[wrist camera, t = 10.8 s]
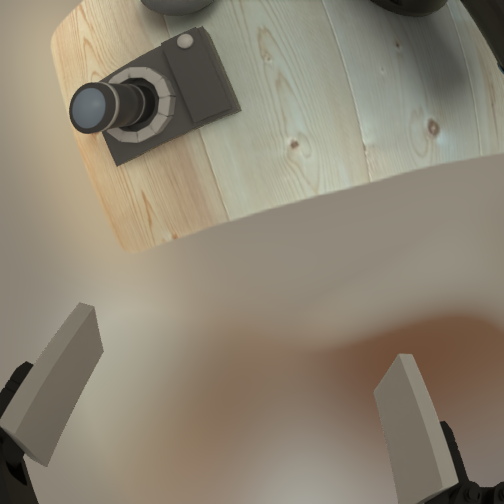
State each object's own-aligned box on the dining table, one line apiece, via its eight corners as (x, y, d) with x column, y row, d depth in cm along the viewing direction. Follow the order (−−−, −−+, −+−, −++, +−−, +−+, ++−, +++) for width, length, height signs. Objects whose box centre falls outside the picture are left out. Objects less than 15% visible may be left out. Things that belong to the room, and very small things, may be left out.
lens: (121, 85, 28) (69, 84, 19) (157, 84, 28) (112, 80, 19) (118, 123, 30) (67, 134, 21) (153, 124, 30) (108, 134, 21)
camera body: (209, 34, 29) (197, 20, 23) (241, 110, 33) (236, 110, 27) (101, 91, 32) (74, 91, 26) (130, 160, 36) (106, 171, 31)
